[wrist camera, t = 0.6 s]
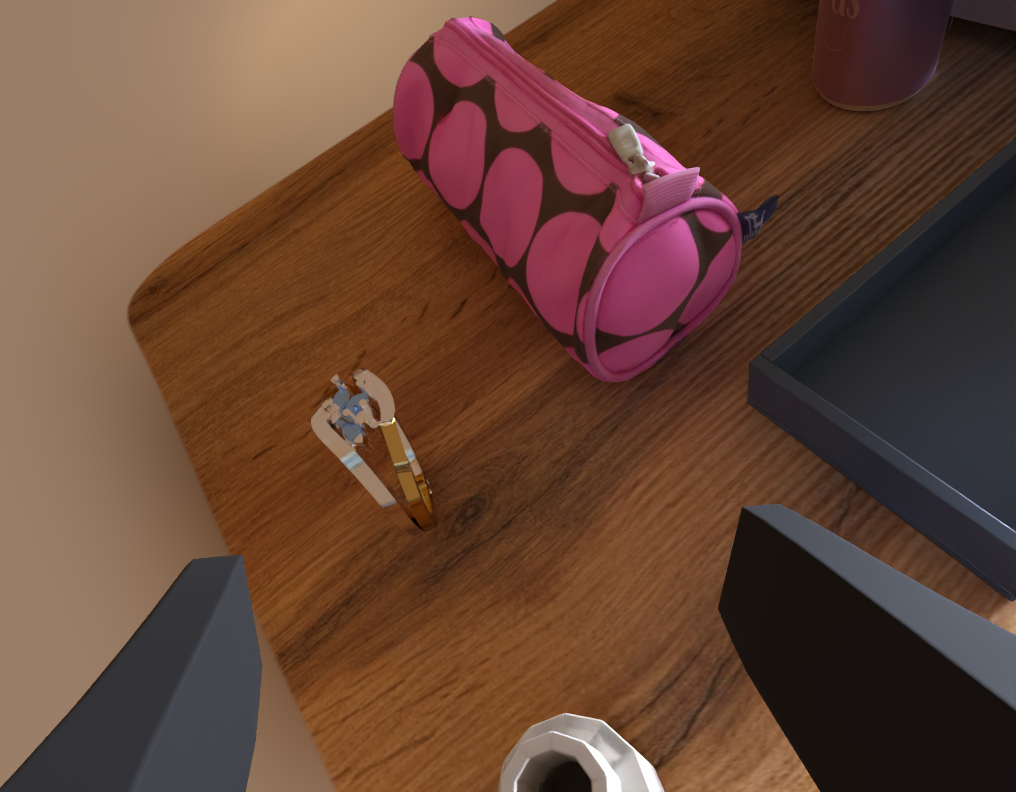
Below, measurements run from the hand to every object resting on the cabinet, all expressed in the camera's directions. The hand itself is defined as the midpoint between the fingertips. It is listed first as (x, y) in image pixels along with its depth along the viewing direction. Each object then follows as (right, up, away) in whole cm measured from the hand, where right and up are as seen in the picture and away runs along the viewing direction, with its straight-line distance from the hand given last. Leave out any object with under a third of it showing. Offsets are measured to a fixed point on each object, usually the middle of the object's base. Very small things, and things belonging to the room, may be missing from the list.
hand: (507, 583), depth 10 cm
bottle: (+3, -11, +12) cm, 17 cm away
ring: (-4, -2, +21) cm, 21 cm away
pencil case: (+3, +11, +27) cm, 29 cm away
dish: (+22, +6, +17) cm, 29 cm away
